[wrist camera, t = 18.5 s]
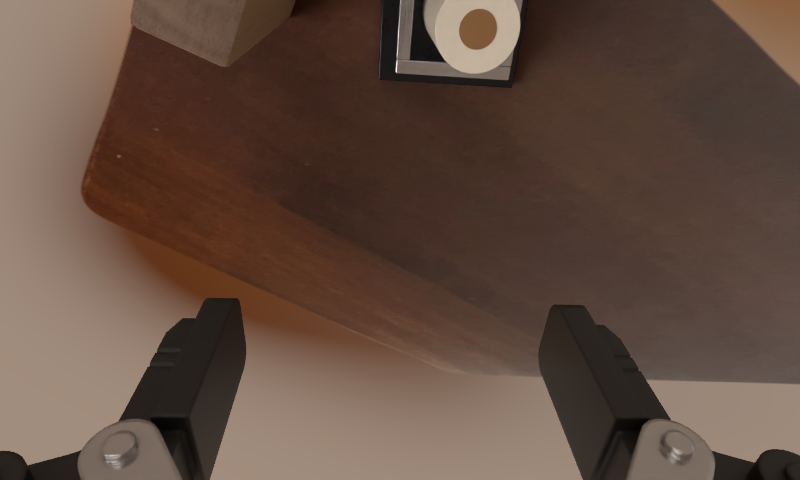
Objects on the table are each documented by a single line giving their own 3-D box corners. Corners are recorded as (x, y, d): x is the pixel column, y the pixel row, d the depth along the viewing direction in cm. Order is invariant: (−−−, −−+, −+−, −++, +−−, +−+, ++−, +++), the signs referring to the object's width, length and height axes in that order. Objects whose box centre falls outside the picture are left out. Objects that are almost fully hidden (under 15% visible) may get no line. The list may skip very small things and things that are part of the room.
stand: (385, -83, 34) (386, -86, 31) (537, -70, 35) (554, -72, 32) (378, 76, 40) (378, 89, 37) (509, 85, 41) (521, 97, 37)
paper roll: (425, -30, 35) (440, -23, 27) (492, -25, 36) (528, -16, 27) (418, 43, 38) (430, 71, 29) (482, 47, 38) (512, 76, 30)
